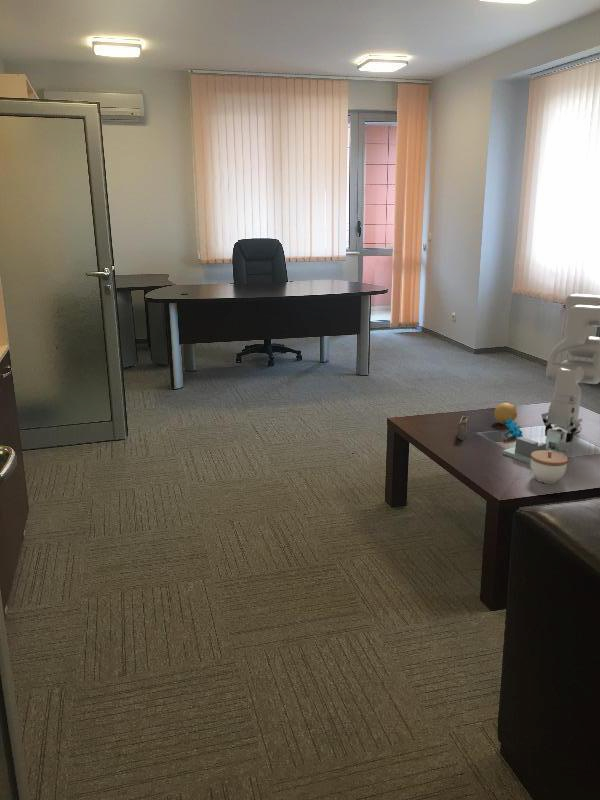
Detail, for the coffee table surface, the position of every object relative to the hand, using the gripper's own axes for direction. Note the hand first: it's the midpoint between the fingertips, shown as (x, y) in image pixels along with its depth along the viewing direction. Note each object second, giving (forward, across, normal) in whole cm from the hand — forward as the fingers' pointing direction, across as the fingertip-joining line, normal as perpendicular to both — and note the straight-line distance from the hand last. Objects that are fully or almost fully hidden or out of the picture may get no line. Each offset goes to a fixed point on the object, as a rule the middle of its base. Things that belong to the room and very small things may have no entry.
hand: (558, 438), depth 265 cm
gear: (+5, +20, +2) cm, 20 cm away
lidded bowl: (+6, -18, +31) cm, 36 cm away
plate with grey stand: (+5, 0, +14) cm, 15 cm away
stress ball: (+4, +33, -9) cm, 35 cm away
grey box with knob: (+5, 0, -1) cm, 5 cm away
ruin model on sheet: (+5, +32, +20) cm, 39 cm away
